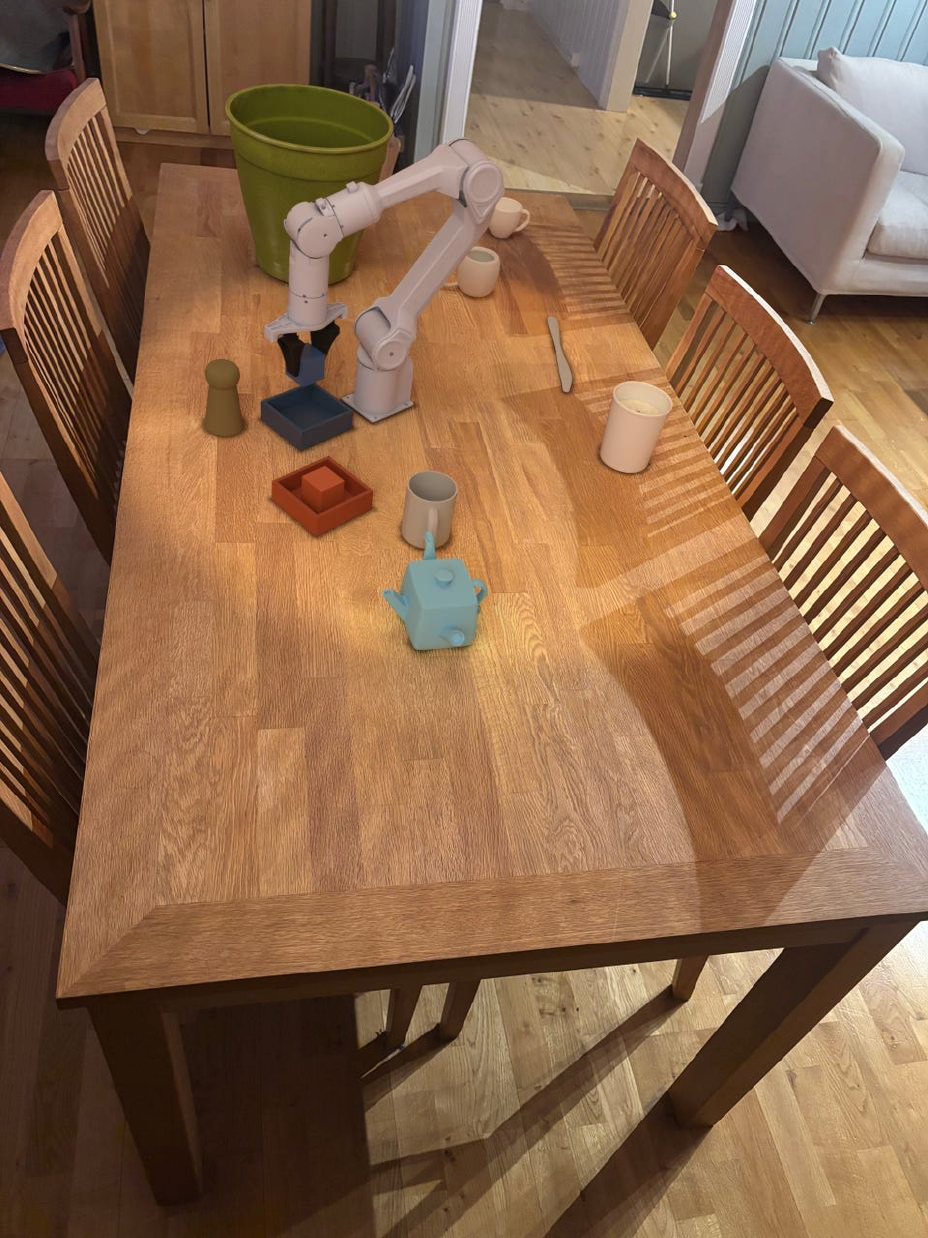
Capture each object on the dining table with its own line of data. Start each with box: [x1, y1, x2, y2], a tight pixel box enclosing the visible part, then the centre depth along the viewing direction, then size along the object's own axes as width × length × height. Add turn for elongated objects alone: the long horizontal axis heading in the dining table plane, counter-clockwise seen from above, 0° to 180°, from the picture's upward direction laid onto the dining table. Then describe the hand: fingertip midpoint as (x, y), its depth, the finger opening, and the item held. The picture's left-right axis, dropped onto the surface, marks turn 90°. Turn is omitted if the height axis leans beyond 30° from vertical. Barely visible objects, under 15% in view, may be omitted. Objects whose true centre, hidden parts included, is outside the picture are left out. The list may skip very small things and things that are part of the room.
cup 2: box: [488, 196, 531, 239], centre depth 216 cm, size 8×10×7 cm
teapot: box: [381, 532, 489, 651], centre depth 126 cm, size 18×14×10 cm
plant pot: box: [224, 83, 394, 286], centre depth 184 cm, size 30×30×29 cm
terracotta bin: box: [271, 455, 374, 537], centre depth 143 cm, size 11×10×4 cm
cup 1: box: [400, 469, 459, 550], centre depth 139 cm, size 7×10×9 cm
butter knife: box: [547, 315, 573, 393], centre depth 184 cm, size 1×27×3 cm
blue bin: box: [260, 382, 355, 452], centre depth 156 cm, size 11×10×4 cm
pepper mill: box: [203, 358, 244, 437], centre depth 150 cm, size 6×6×11 cm
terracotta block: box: [301, 466, 345, 514], centre depth 142 cm, size 4×4×4 cm
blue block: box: [284, 341, 326, 387], centre depth 153 cm, size 4×4×4 cm
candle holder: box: [599, 380, 674, 474], centre depth 160 cm, size 10×10×12 cm
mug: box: [443, 245, 501, 298], centre depth 194 cm, size 12×8×8 cm
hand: (305, 369), depth 153 cm, fingers closed on blue block, 4 cm apart
